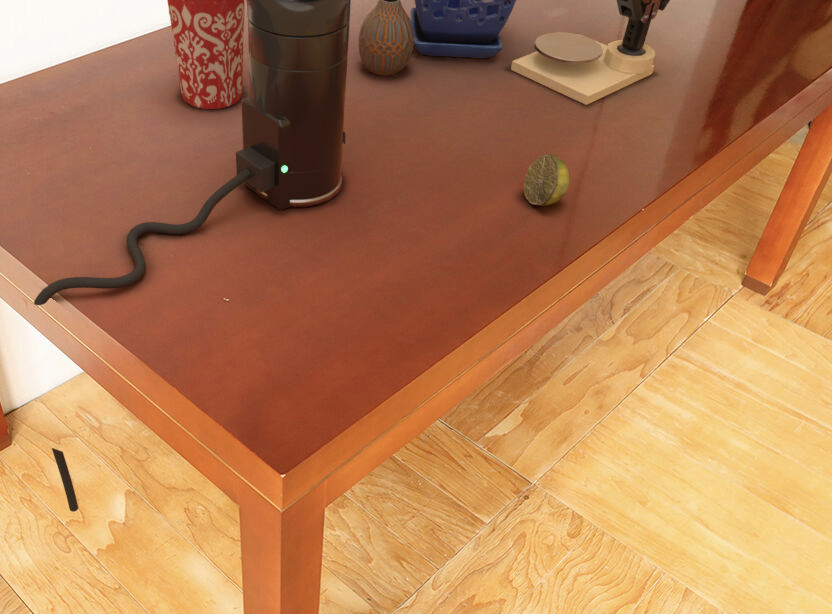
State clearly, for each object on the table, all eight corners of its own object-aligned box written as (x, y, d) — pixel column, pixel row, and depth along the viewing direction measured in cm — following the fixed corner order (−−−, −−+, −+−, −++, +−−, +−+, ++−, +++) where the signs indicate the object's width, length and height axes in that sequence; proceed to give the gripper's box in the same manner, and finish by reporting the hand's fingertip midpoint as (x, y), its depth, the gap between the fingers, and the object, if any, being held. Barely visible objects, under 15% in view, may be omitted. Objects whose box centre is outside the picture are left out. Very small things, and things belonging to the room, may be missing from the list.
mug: (228, 120, 98) (223, 0, 88) (160, 103, 100) (147, -16, 91) (275, 76, 106) (274, -39, 97) (210, 61, 108) (203, -52, 99)
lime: (553, 218, 86) (564, 174, 82) (510, 201, 88) (519, 158, 84) (571, 199, 88) (584, 156, 85) (530, 183, 90) (540, 140, 87)
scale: (589, 106, 103) (595, 83, 101) (510, 69, 110) (514, 46, 107) (657, 74, 110) (664, 51, 108) (579, 41, 116) (584, 19, 114)
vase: (411, 59, 111) (419, -11, 105) (410, 83, 106) (418, 11, 100) (358, 55, 111) (363, -15, 105) (355, 79, 106) (359, 7, 100)
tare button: (630, 69, 108) (634, 55, 106) (611, 60, 109) (614, 47, 108) (644, 62, 109) (648, 49, 108) (624, 54, 111) (628, 41, 109)
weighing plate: (574, 69, 103) (575, 66, 103) (520, 46, 108) (521, 43, 107) (615, 52, 107) (616, 48, 107) (562, 29, 112) (562, 26, 111)
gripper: (679, -122, 101) (636, 25, 113) (613, -102, 94) (575, 51, 107) (737, -106, 97) (686, 44, 109) (672, -84, 91) (625, 72, 103)
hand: (631, 47), depth 108 cm, fingers closed
